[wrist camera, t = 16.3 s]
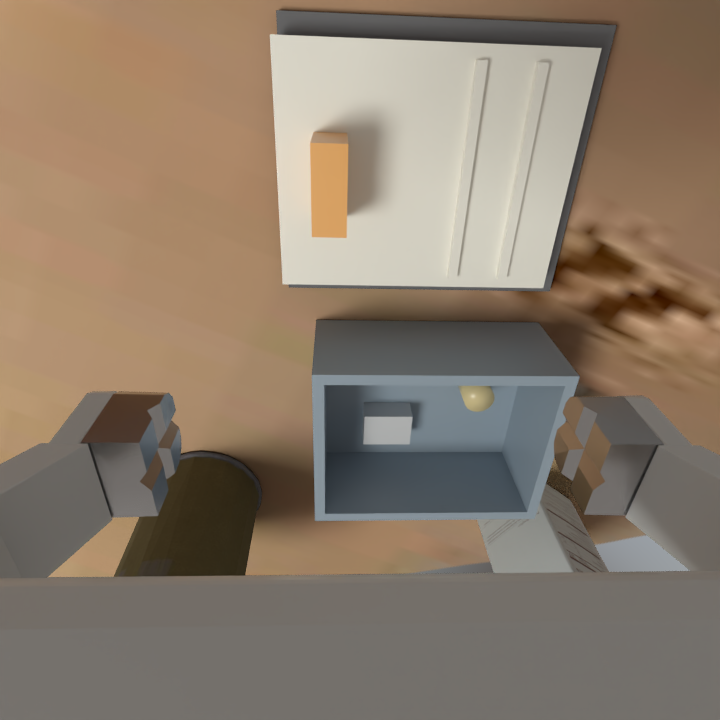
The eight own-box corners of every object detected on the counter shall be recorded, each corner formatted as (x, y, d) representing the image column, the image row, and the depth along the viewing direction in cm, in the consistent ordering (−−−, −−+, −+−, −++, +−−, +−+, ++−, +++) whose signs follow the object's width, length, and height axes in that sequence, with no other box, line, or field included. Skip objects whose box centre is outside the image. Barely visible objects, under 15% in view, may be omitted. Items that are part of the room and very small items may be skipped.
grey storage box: (538, 322, 40) (579, 376, 33) (506, 452, 47) (534, 518, 40) (316, 319, 39) (311, 374, 32) (318, 453, 46) (315, 520, 40)
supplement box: (518, 536, 54) (563, 655, 43) (471, 507, 51) (507, 627, 40) (572, 498, 51) (635, 615, 40) (525, 466, 48) (580, 582, 38)
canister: (219, 434, 45) (147, 665, 28) (282, 503, 50) (253, 735, 33) (126, 478, 47) (7, 716, 30) (195, 540, 52) (126, 774, 35)
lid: (585, 48, 30) (644, 46, 24) (532, 276, 37) (568, 316, 32) (274, 36, 29) (258, 30, 23) (285, 272, 36) (275, 312, 31)
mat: (611, 25, 30) (616, 25, 29) (546, 288, 38) (549, 291, 38) (277, 11, 29) (276, 10, 28) (289, 284, 37) (288, 287, 37)
